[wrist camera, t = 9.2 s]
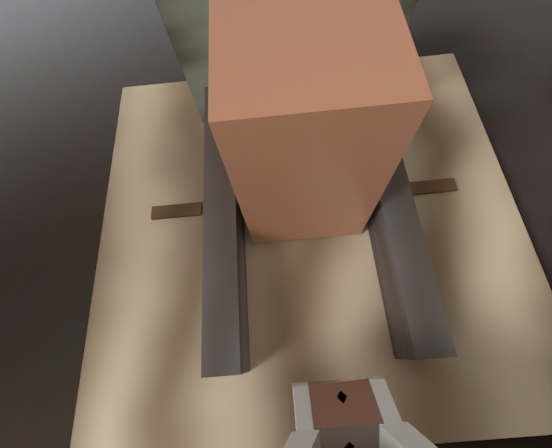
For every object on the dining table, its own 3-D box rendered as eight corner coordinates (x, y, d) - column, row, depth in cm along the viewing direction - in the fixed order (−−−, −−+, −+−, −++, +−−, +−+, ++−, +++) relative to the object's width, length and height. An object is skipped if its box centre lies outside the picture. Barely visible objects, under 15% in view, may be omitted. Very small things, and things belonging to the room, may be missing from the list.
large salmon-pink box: (253, 243, 18) (207, 122, 8) (248, 154, 20) (209, -18, 11) (360, 233, 18) (434, 99, 8) (343, 145, 20) (385, -37, 11)
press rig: (80, 464, 15) (-256, 637, 6) (129, 97, 24) (25, -63, 15) (589, 425, 15) (1093, 546, 5) (447, 65, 23) (545, -123, 14)
